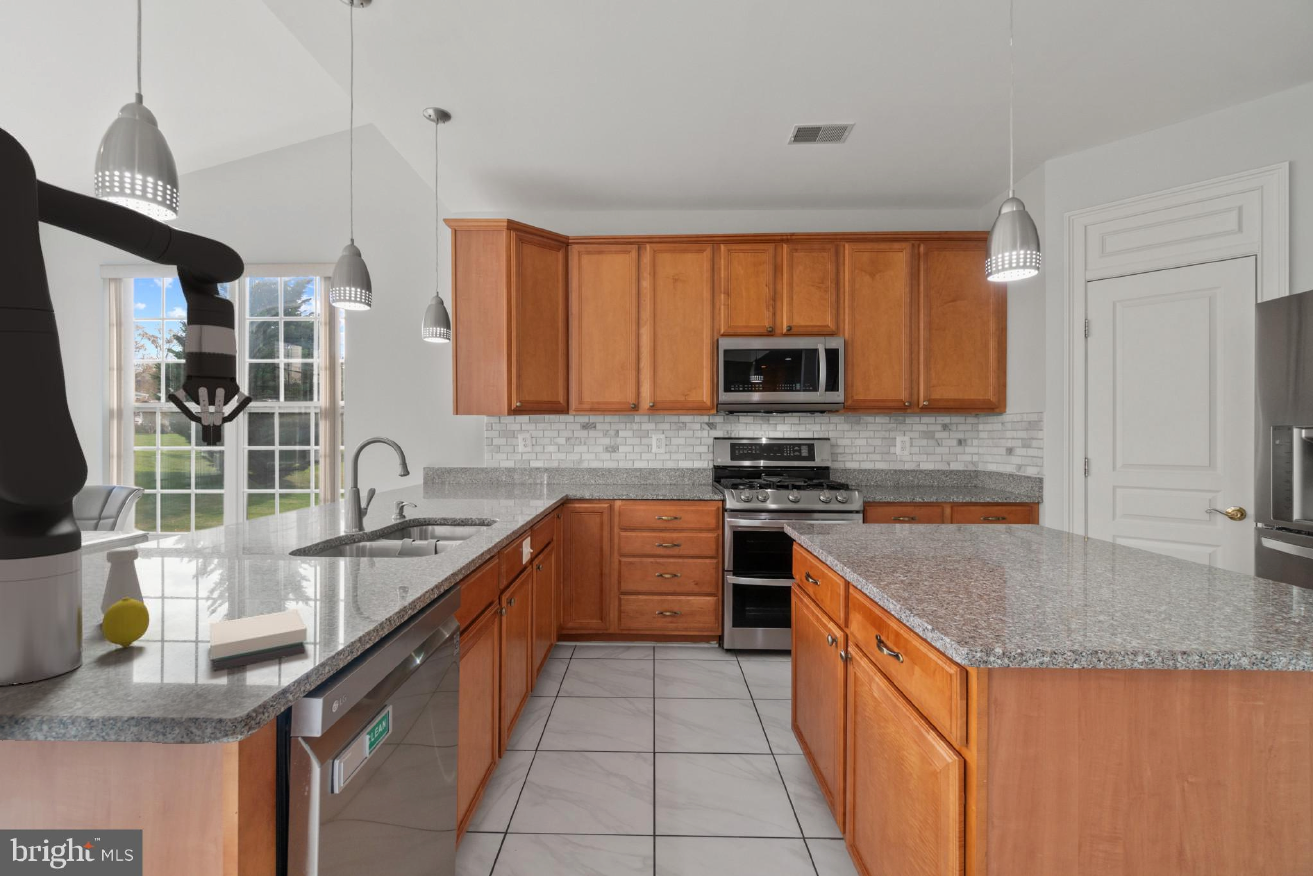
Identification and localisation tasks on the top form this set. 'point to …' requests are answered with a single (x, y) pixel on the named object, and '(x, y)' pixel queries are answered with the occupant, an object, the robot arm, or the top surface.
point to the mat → (258, 657)
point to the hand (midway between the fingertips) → (211, 445)
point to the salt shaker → (121, 577)
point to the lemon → (125, 622)
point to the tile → (256, 634)
